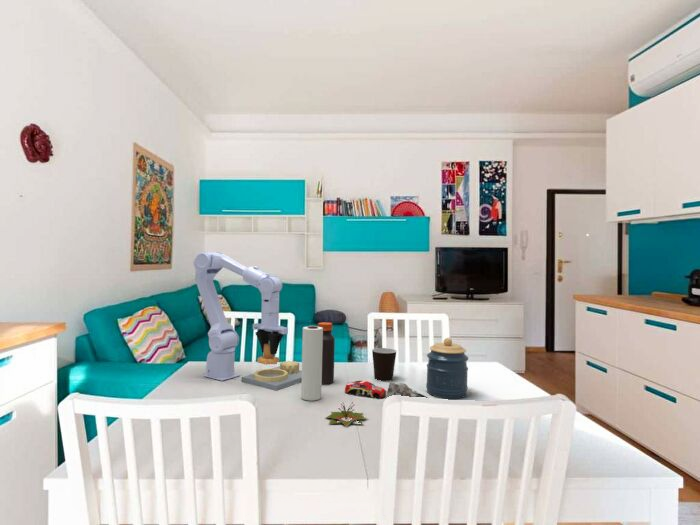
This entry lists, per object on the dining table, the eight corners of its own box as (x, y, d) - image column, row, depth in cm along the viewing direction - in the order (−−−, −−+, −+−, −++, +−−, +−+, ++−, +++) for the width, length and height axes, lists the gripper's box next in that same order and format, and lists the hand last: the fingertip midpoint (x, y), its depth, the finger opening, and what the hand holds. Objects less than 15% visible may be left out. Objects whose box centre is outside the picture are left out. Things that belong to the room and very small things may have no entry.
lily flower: (325, 411, 118) (326, 395, 118) (368, 413, 118) (369, 397, 118) (321, 429, 106) (322, 410, 106) (369, 430, 106) (370, 412, 106)
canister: (440, 384, 146) (442, 333, 145) (475, 393, 136) (476, 338, 136) (417, 392, 136) (419, 337, 136) (453, 402, 127) (454, 343, 127)
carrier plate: (241, 381, 143) (241, 368, 143) (279, 370, 159) (280, 358, 159) (276, 390, 134) (276, 376, 134) (313, 377, 150) (313, 364, 150)
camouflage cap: (425, 412, 126) (422, 418, 116) (389, 399, 129) (383, 405, 120) (431, 389, 126) (428, 394, 117) (395, 377, 130) (389, 381, 120)
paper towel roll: (316, 402, 124) (317, 329, 124) (297, 399, 126) (299, 327, 126) (325, 395, 131) (327, 326, 131) (308, 392, 133) (309, 324, 133)
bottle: (321, 386, 140) (323, 325, 140) (309, 381, 145) (311, 322, 145) (337, 382, 145) (339, 323, 145) (325, 378, 150) (326, 321, 150)
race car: (388, 395, 133) (388, 383, 133) (383, 400, 128) (383, 387, 128) (349, 389, 138) (350, 377, 138) (343, 394, 133) (343, 381, 133)
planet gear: (253, 362, 142) (254, 343, 142) (267, 359, 147) (268, 341, 147) (268, 365, 138) (269, 346, 138) (282, 362, 143) (283, 344, 143)
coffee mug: (388, 383, 145) (389, 354, 145) (366, 379, 150) (367, 350, 149) (403, 376, 155) (404, 348, 155) (382, 372, 159) (383, 345, 159)
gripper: (246, 311, 143) (245, 351, 143) (277, 315, 135) (276, 358, 135) (261, 310, 149) (260, 348, 149) (292, 313, 141) (291, 354, 141)
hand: (269, 353), depth 143 cm, fingers closed on planet gear, 3 cm apart
